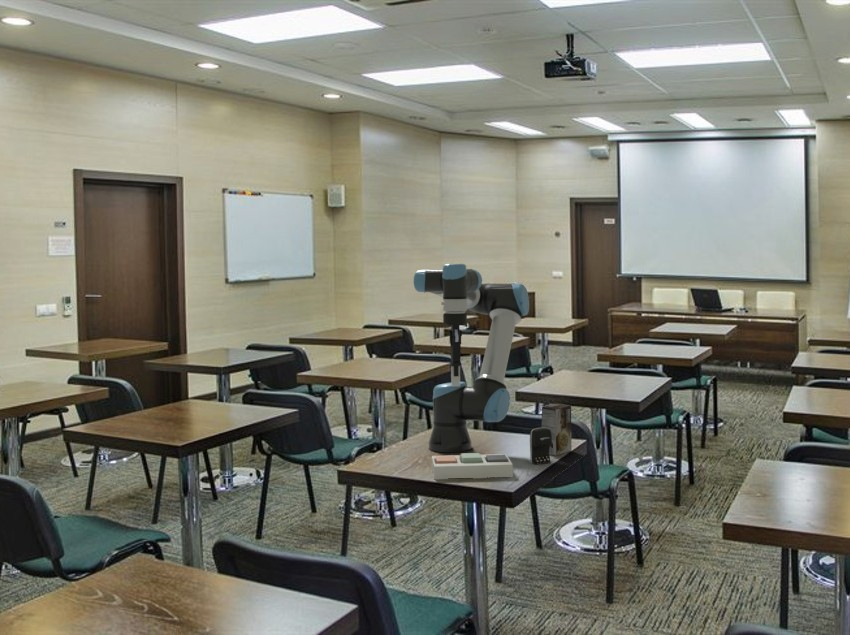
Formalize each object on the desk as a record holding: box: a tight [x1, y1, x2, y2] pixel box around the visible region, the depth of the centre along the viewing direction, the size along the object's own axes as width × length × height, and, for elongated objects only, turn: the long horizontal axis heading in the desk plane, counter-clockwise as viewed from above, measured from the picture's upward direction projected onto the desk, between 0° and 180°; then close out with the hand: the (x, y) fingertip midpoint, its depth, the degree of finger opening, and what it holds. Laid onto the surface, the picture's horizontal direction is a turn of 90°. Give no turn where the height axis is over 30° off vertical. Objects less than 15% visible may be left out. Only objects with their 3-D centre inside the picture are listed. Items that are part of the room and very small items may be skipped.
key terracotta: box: [435, 455, 456, 464], centre depth 266 cm, size 6×6×3 cm
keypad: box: [431, 453, 514, 480], centre depth 266 cm, size 14×24×4 cm, turn 93°
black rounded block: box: [529, 427, 552, 465], centre depth 277 cm, size 7×4×11 cm, turn 119°
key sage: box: [460, 452, 482, 463], centre depth 266 cm, size 6×6×3 cm
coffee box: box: [541, 402, 573, 456], centre depth 292 cm, size 9×6×16 cm
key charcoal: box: [485, 454, 508, 462], centre depth 266 cm, size 6×6×3 cm
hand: (455, 386), depth 271 cm, fingers closed
